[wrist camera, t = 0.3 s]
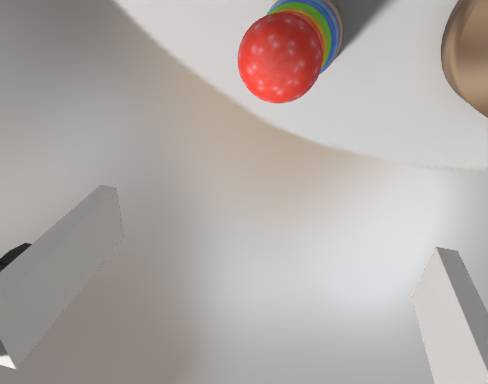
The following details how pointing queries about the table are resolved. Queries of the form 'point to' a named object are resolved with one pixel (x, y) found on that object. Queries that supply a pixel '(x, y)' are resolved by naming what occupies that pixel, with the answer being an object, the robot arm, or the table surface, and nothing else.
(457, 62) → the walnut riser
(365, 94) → the table surface
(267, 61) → the stacking toy
